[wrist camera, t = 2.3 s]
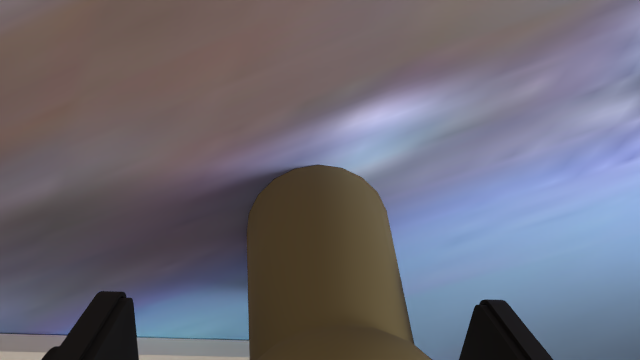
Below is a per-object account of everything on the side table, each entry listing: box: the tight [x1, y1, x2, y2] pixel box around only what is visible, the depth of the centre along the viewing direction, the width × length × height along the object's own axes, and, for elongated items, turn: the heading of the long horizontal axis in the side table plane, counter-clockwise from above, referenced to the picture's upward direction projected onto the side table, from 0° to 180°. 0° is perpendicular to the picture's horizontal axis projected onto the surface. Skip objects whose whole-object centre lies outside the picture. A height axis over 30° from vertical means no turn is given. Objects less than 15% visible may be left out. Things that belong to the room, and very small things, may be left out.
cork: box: [247, 165, 432, 360], centre depth 11 cm, size 6×6×11 cm
